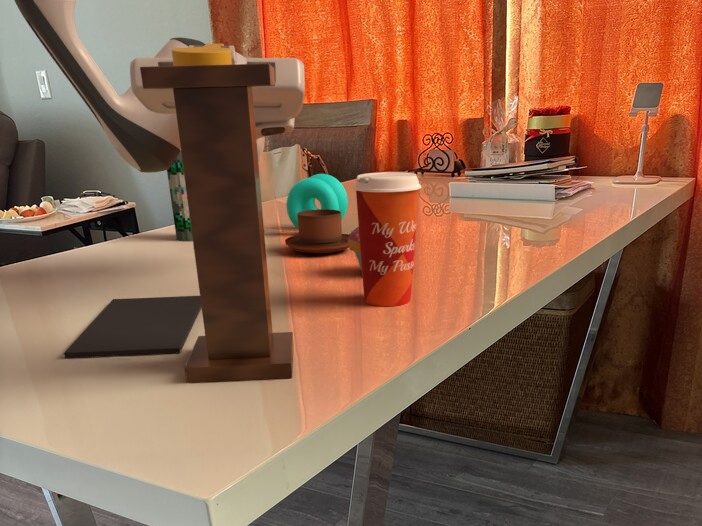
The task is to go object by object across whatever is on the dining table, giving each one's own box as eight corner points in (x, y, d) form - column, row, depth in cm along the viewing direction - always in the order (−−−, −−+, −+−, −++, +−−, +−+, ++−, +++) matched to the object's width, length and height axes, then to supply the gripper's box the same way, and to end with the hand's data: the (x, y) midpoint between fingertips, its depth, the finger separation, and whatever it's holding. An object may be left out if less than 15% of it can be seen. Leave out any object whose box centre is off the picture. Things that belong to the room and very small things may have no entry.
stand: (186, 383, 68) (139, 66, 55) (200, 349, 76) (162, 69, 64) (292, 378, 68) (269, 63, 56) (293, 345, 77) (274, 67, 64)
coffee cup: (378, 312, 87) (377, 180, 80) (344, 298, 94) (340, 174, 86) (433, 301, 91) (436, 174, 84) (396, 289, 97) (397, 169, 90)
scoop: (192, 61, 82) (189, 37, 81) (241, 61, 82) (239, 37, 81) (171, 81, 68) (167, 52, 66) (231, 81, 68) (228, 52, 67)
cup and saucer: (279, 247, 125) (276, 210, 122) (344, 241, 128) (343, 205, 125) (295, 260, 115) (292, 220, 112) (365, 254, 118) (364, 215, 115)
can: (176, 241, 132) (164, 153, 125) (176, 236, 137) (164, 150, 130) (210, 239, 133) (199, 151, 126) (208, 234, 139) (198, 149, 131)
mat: (64, 358, 75) (63, 352, 75) (113, 303, 94) (112, 299, 94) (179, 353, 75) (179, 347, 75) (205, 299, 95) (204, 295, 94)
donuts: (350, 227, 142) (348, 173, 137) (337, 236, 133) (335, 179, 128) (302, 226, 144) (299, 173, 139) (286, 235, 135) (282, 178, 130)
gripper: (142, 80, 90) (112, 21, 77) (303, 80, 92) (303, 22, 78) (145, 132, 91) (116, 82, 77) (305, 131, 92) (305, 82, 79)
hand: (211, 52), depth 78 cm, fingers closed on scoop, 2 cm apart
